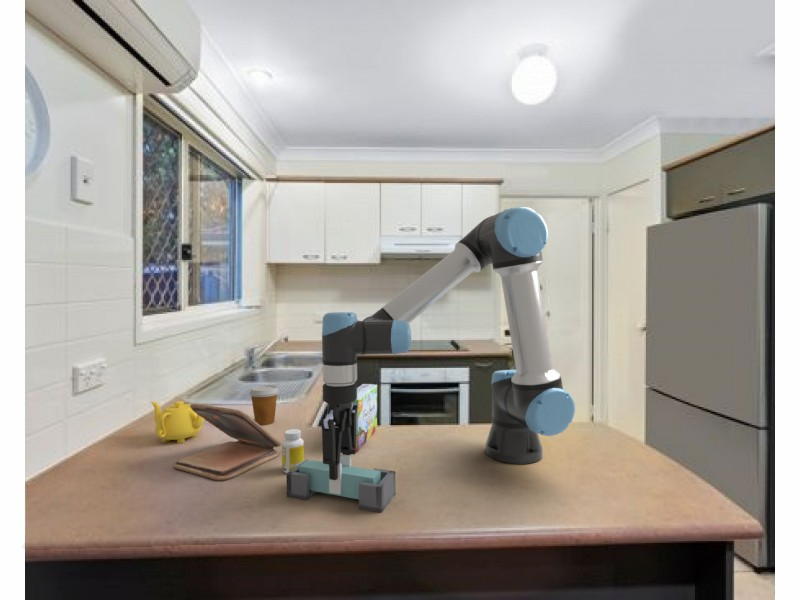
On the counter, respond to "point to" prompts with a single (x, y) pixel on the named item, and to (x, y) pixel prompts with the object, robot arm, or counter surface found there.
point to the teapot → (177, 422)
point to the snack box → (365, 413)
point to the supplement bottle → (292, 450)
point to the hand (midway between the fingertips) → (340, 488)
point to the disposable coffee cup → (264, 403)
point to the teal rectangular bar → (349, 478)
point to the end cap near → (377, 492)
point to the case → (230, 445)
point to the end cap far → (298, 484)
